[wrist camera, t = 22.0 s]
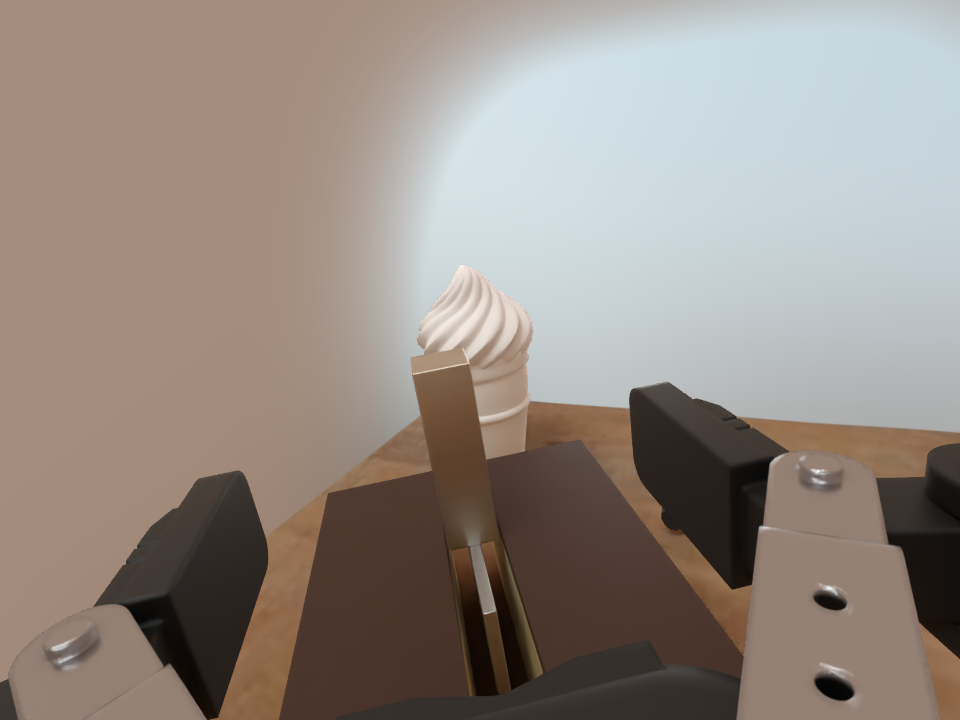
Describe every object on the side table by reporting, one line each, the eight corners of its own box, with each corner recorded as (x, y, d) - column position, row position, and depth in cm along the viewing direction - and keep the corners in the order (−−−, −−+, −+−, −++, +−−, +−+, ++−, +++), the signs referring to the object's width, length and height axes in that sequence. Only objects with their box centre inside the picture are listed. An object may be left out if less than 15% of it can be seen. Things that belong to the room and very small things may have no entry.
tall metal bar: (543, 747, 22) (485, 399, 17) (489, 761, 22) (415, 413, 17) (498, 579, 31) (453, 325, 27) (460, 588, 31) (408, 334, 27)
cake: (760, 844, 18) (760, 678, 16) (323, 971, 17) (258, 810, 14) (592, 544, 33) (581, 439, 31) (357, 599, 32) (327, 492, 30)
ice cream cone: (445, 450, 48) (408, 265, 43) (541, 434, 48) (516, 246, 43) (444, 505, 40) (399, 284, 35) (560, 485, 40) (531, 262, 35)
